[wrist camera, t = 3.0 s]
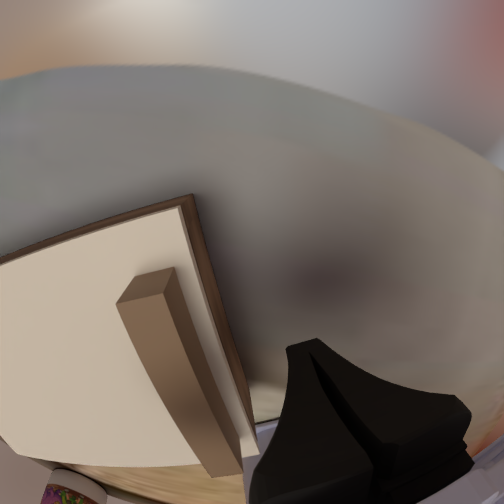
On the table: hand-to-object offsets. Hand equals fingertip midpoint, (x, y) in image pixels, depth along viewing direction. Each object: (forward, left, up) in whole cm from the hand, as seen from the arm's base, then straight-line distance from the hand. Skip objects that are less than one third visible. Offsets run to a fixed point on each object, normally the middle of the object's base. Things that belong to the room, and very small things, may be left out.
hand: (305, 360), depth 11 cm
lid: (0, +13, -1) cm, 13 cm away
